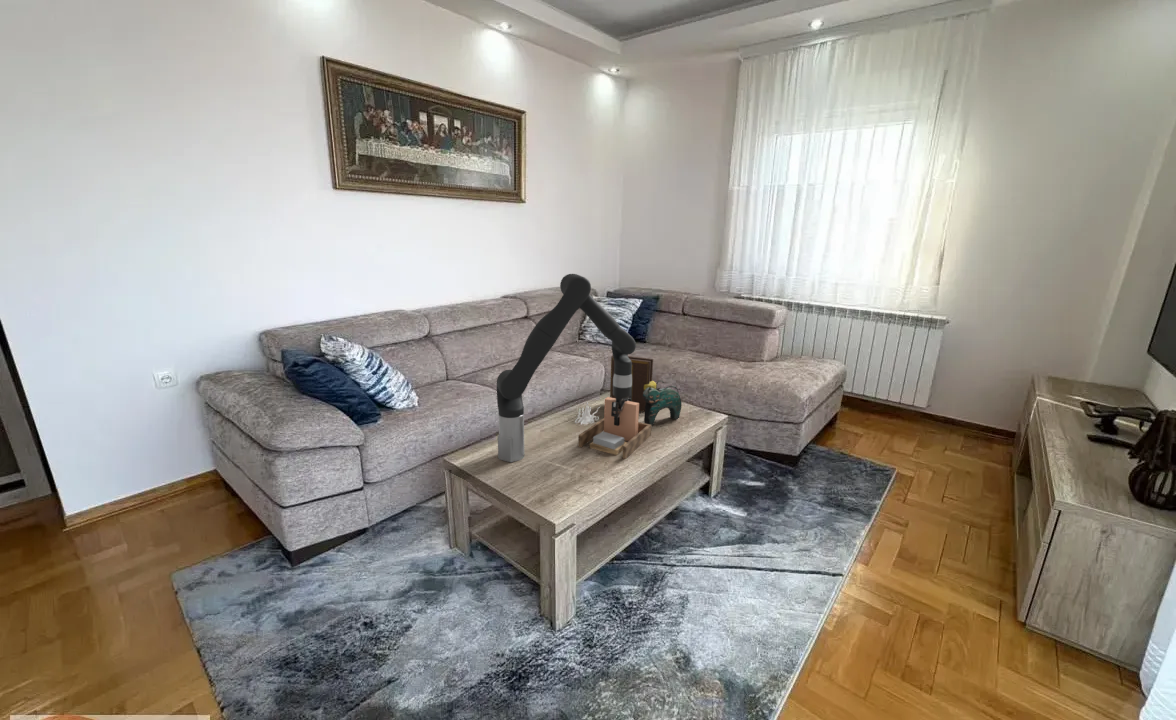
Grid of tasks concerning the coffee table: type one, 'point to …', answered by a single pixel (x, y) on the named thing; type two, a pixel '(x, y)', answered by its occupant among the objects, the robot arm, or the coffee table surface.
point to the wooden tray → (629, 447)
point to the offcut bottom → (605, 449)
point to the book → (637, 379)
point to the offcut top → (608, 440)
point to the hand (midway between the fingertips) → (621, 421)
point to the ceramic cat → (661, 403)
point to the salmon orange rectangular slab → (622, 419)
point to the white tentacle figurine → (586, 416)
